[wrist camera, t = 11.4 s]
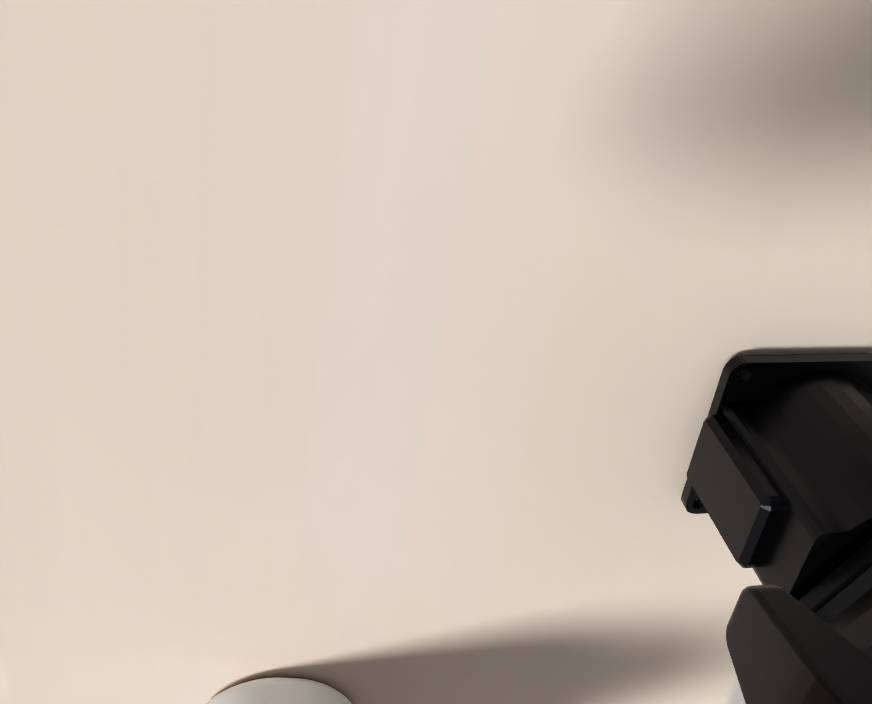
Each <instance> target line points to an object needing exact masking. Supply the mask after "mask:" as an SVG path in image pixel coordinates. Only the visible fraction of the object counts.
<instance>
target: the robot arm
mask: <svg viewBox="0 0 872 704" xmlns="http://www.w3.org/2000/svg"><path fill="white" fill-rule="evenodd" d="M741 370H744V372H743V373H741V374H740V375H737V374H738V372H740V371H741ZM681 500H682V502H683V504H684V506H685V508H686V510H687V511H688V512H690V513H694V514H700V513H708V514H709V515H710V517H711V519H712V521H713V522H714V524H715V526H716V527H717V529H718V531H719V533H720V534H721V536H722V538H723V539H724V541H725V543H726V545H727V546H728V548H729V550H730V552H731V553H732V555H733V557H734V558H735V560H736V561H737V562H738V563H739V564H740V565H741V566H742V567H743V568H753V569H754V571H755V573H756V574H757V576H758V578H759V579H760V581H761V583H762V584H763V585H758V586H748V587H746V588H745V589H744V590H743V591H742V592H741V594H740V597H739V599H738V601H737V604H736V606H735V608H734V611H733V613H732V615H731V618H730V620H729V622H728V625H727V630H726V640H727V645H728V649H729V652H730V655H731V659H732V662H733V665H734V668H735V671H736V674H737V678H738V681H739V684H740V687H741V690H742V694H743V697H744V699H745V703H746V704H872V354H821V355H755V356H738V357H735V358H733V359H731V360H730V361H729V362H728V363H727V364H726V365H725V367H724V369H723V371H722V374H721V377H720V380H719V383H718V386H717V389H716V393H715V396H714V399H713V402H712V405H711V408H710V411H709V414H708V417H707V418H706V420H705V421H704V423H703V426H702V429H701V432H700V435H699V438H698V441H697V444H696V447H695V450H694V453H693V457H692V460H691V463H690V466H689V469H688V472H687V481H686V484H685V487H684V490H683V493H682V496H681Z"/></svg>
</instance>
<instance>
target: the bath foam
mask: <svg viewBox="0 0 872 704" xmlns="http://www.w3.org/2000/svg"><path fill="white" fill-rule="evenodd" d="M206 704H352V703H351V702H350V701H349V700H348V699H347V698H346V697H345V696H344V695H343V694H341V693H340V692H339V691H337V690H335V689H334V688H332V687H330V686H327V685H325V684H322V683H320V682H316V681H312V680H308V679H300V678H283V677H273V678H263V679H257V680H252V681H248V682H245V683H241V684H238V685H236V686H233V687H231V688H229V689H227V690H225V691H223V692H221V693H219V694H218V695H216V696H215V697H213V698H212V699H211V700H209V701H208V702H207V703H206Z"/></svg>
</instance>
